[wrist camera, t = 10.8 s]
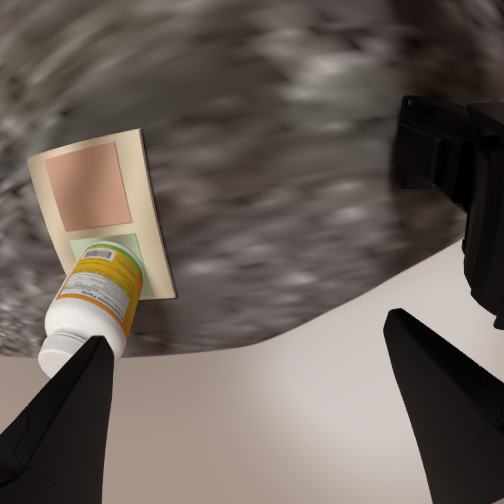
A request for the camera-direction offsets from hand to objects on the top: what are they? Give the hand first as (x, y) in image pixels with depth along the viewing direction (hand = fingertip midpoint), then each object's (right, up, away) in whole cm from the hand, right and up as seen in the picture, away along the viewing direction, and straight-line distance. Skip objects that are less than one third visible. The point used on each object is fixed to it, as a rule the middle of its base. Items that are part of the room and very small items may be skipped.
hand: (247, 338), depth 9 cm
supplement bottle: (-10, +1, +13) cm, 16 cm away
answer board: (-11, +4, +11) cm, 16 cm away
